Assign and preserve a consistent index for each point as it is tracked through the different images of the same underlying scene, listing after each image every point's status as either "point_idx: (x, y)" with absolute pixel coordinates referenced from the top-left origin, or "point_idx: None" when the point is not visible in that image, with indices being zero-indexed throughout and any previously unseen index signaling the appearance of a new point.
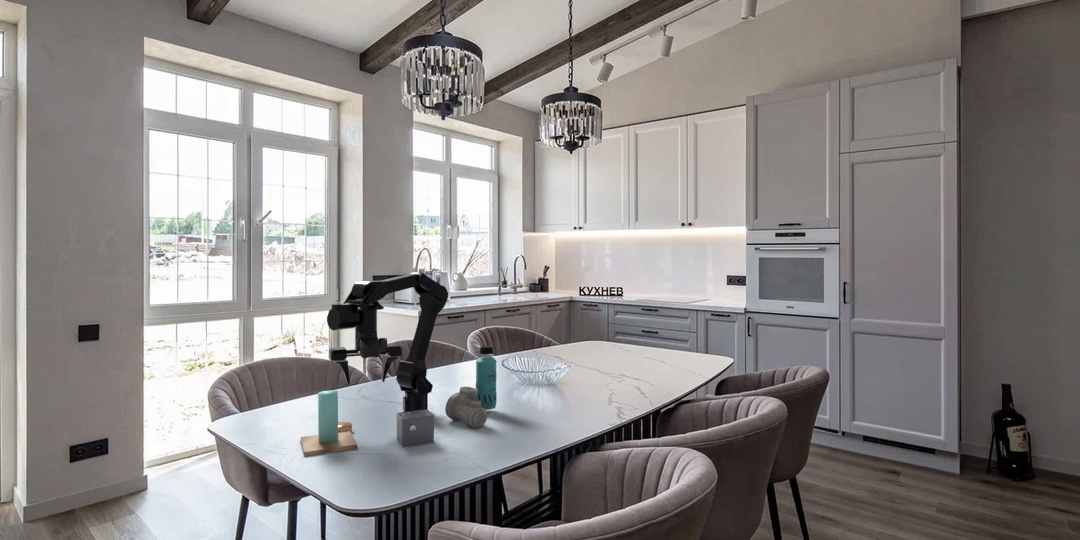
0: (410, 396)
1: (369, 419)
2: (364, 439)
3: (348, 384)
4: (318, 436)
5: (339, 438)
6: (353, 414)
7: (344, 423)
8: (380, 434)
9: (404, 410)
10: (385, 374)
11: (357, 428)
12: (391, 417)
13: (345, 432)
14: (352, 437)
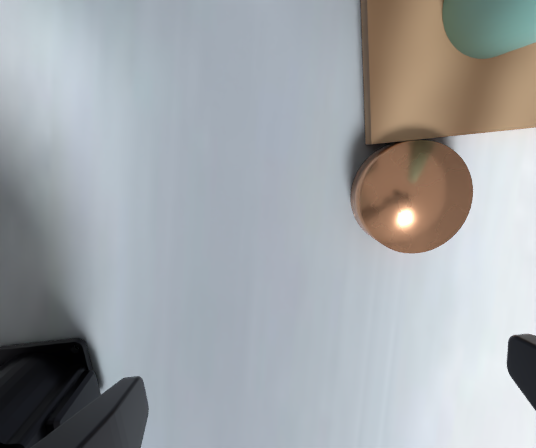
0: (14, 427)
1: (261, 342)
2: (309, 37)
3: (526, 335)
4: (520, 99)
5: (434, 26)
6: (321, 431)
7: (394, 221)
8: (229, 91)
9: (93, 382)
10: (58, 439)
11: (324, 226)
12: (163, 342)
13: (395, 119)
14: (372, 17)
